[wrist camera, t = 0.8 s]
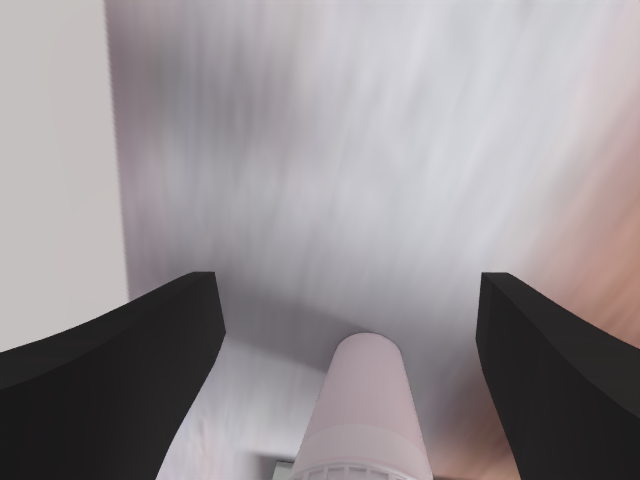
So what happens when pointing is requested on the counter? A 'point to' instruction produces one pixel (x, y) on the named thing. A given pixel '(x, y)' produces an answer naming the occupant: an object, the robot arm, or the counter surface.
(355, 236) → the counter surface
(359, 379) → the smoothie
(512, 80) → the counter surface
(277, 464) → the tray
